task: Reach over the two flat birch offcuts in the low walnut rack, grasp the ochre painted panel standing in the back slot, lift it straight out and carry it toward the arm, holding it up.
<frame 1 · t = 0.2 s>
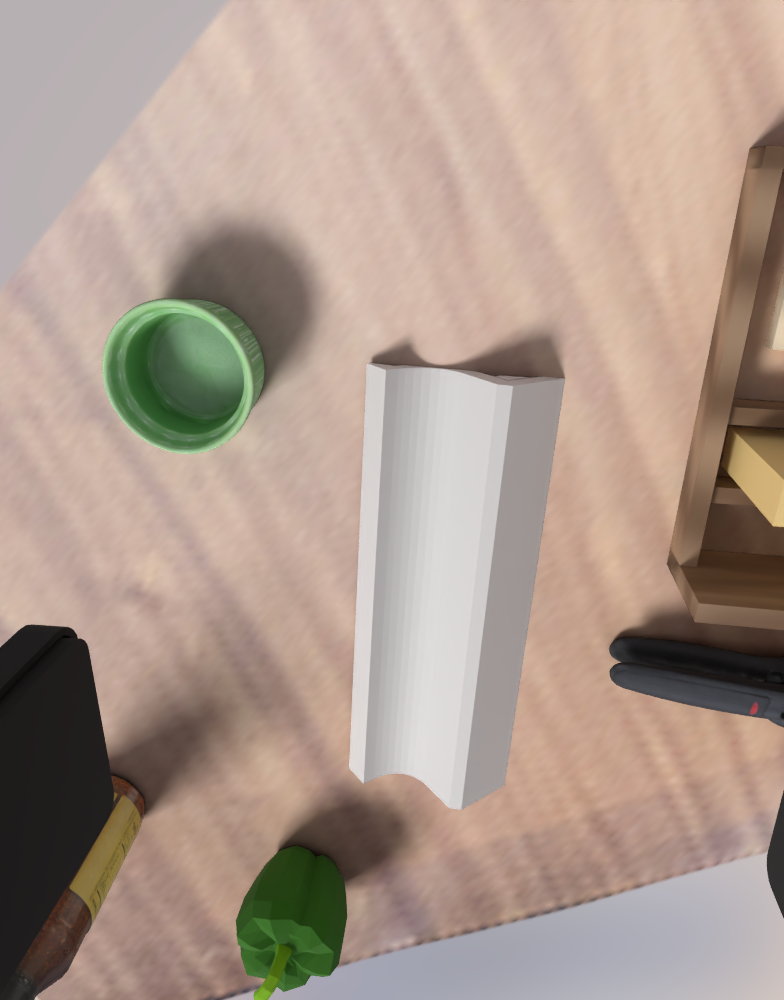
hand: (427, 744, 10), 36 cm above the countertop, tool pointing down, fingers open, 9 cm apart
can opener: (736, 660, 50), on the countertop
ramekin: (205, 363, 47), on the countertop
bell pepper: (305, 866, 62), on the countertop
crown molding: (446, 591, 51), on the countertop
sauce bottle: (116, 798, 62), on the countertop
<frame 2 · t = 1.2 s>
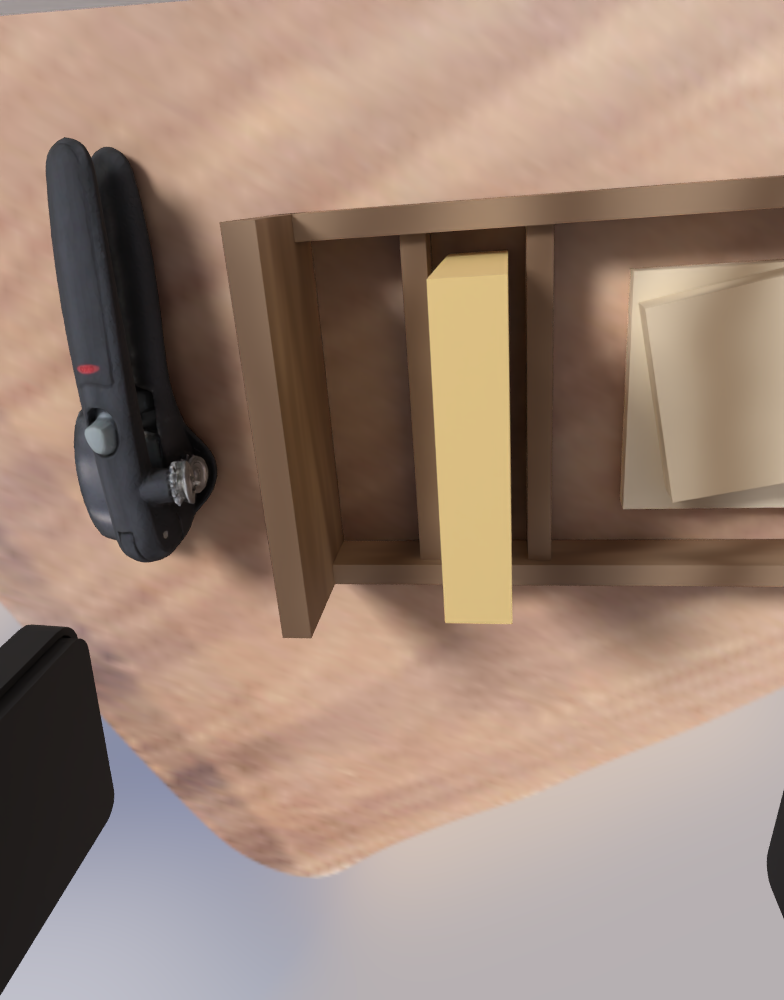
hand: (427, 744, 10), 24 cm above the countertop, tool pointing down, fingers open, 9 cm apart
offcut lower: (719, 383, 32), on the countertop, touching offcut upper
rack: (600, 392, 32), on the countertop
can opener: (148, 353, 34), on the countertop
offcut upper: (730, 383, 30), point 1 cm above the countertop, touching offcut lower
panel: (482, 395, 33), on the countertop
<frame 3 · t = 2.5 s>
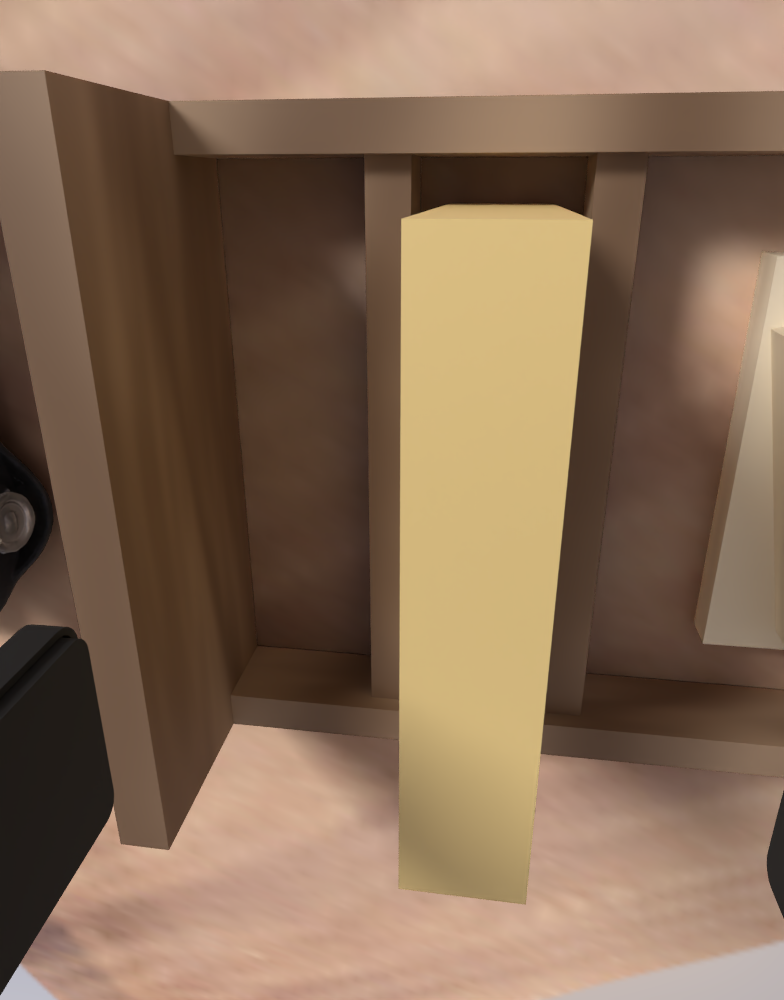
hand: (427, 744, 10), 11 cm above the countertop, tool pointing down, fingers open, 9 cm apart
rack: (683, 454, 19), on the countertop
panel: (488, 444, 20), on the countertop
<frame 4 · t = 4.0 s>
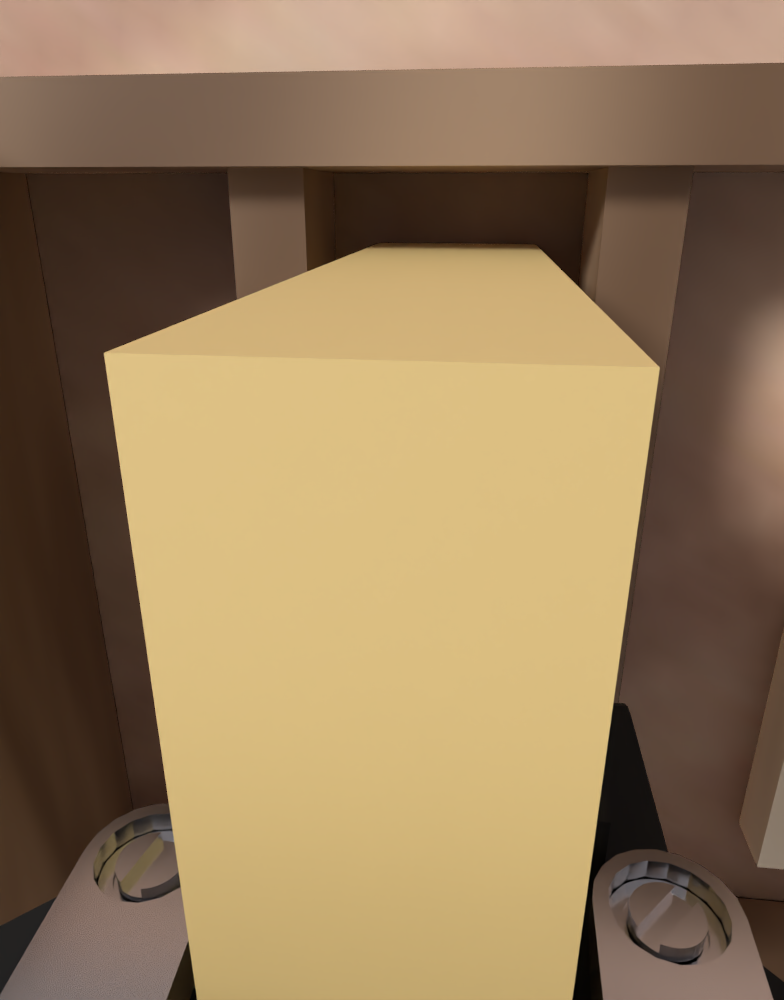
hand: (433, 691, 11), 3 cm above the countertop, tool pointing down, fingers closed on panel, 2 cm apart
rack: (727, 603, 13), on the countertop
panel: (445, 586, 14), on the countertop, touching gripper
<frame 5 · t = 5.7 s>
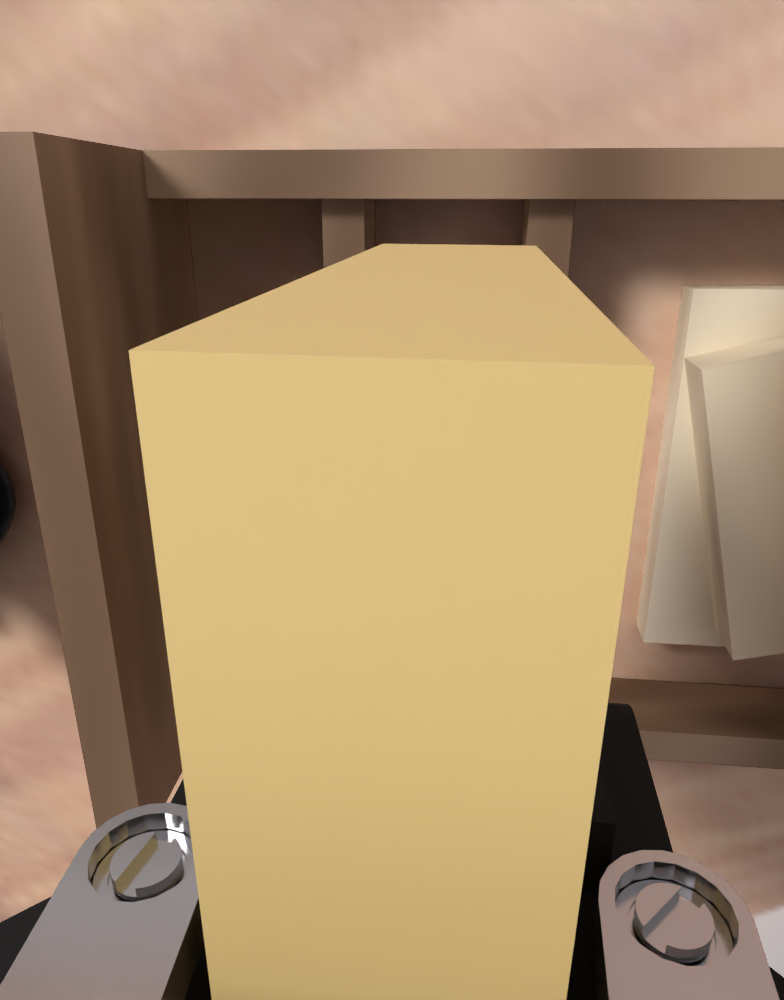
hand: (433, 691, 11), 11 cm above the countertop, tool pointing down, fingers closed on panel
rack: (618, 467, 21), on the countertop
panel: (445, 582, 14), point 8 cm above the countertop, touching gripper
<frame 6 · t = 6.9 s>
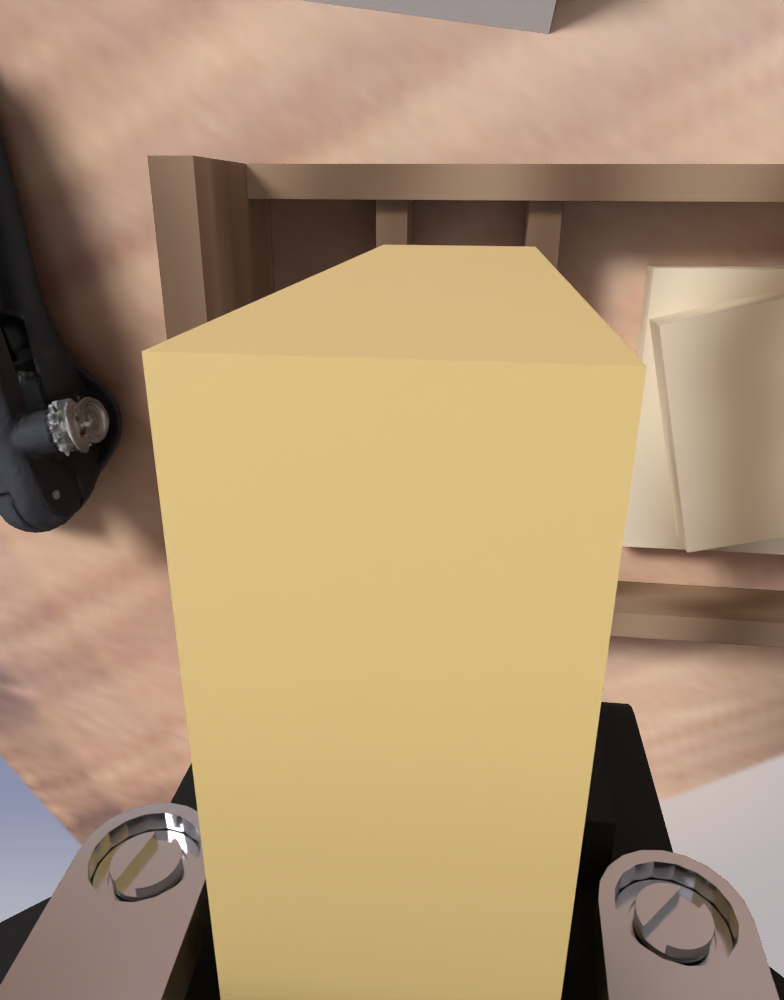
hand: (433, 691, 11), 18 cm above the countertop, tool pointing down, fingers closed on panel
offcut lower: (737, 407, 27), on the countertop, touching offcut upper
rack: (598, 408, 27), on the countertop
can opener: (24, 281, 28), on the countertop
offcut upper: (753, 414, 25), point 1 cm above the countertop, touching offcut lower
panel: (446, 580, 14), point 15 cm above the countertop, touching gripper
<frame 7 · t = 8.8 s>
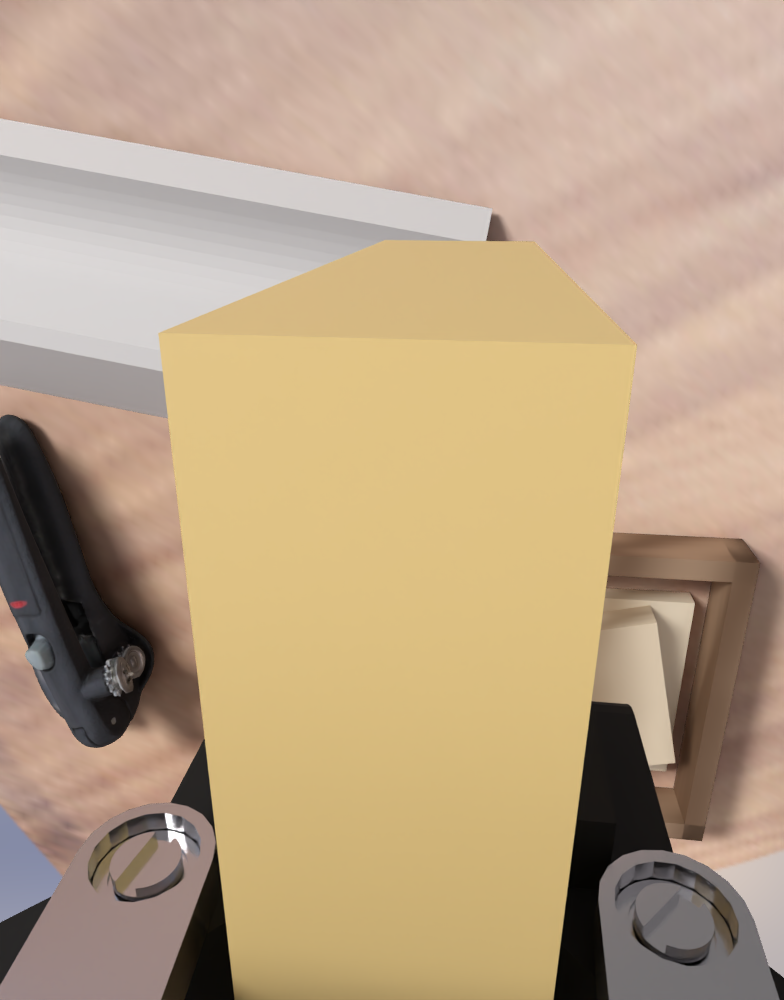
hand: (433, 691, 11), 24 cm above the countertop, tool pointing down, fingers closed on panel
offcut lower: (592, 665, 39), on the countertop, touching offcut upper
rack: (494, 667, 39), on the countertop
can opener: (77, 563, 40), on the countertop
offcut upper: (597, 683, 37), point 1 cm above the countertop, touching offcut lower
crown molding: (131, 286, 34), on the countertop
panel: (447, 571, 14), point 20 cm above the countertop, touching gripper
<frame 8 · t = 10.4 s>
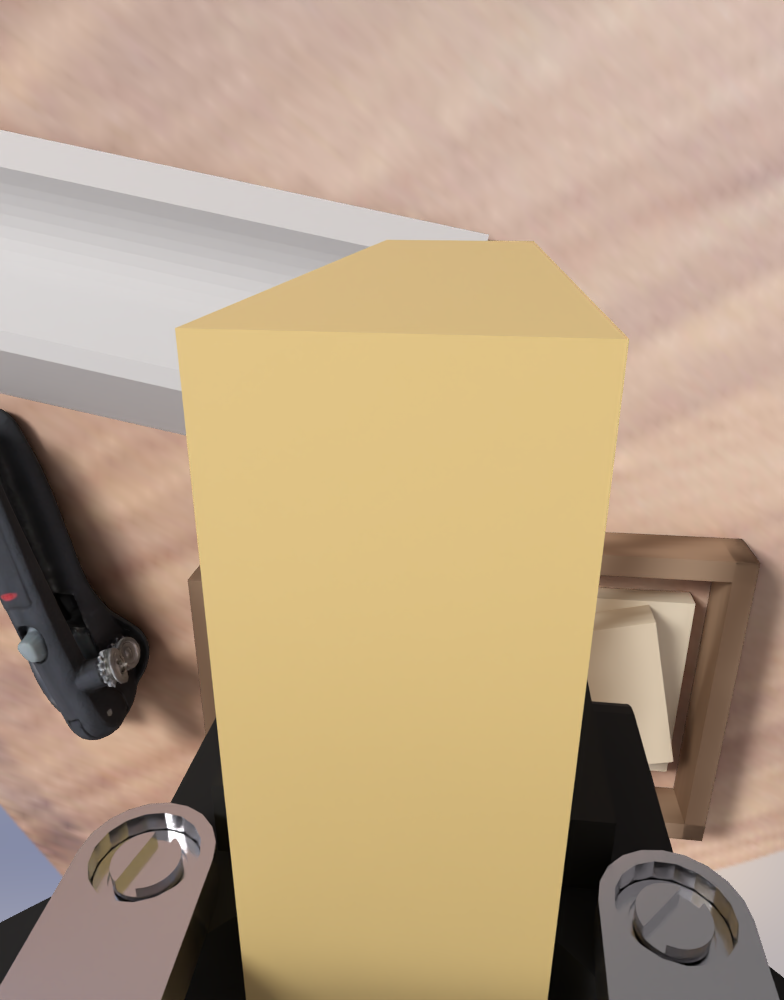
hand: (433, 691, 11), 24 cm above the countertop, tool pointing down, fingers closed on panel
offcut lower: (592, 665, 39), on the countertop, touching offcut upper
rack: (494, 667, 39), on the countertop
can opener: (69, 556, 40), on the countertop
offcut upper: (595, 682, 37), point 1 cm above the countertop, touching offcut lower
crown molding: (129, 298, 35), on the countertop
panel: (447, 566, 14), point 20 cm above the countertop, touching gripper
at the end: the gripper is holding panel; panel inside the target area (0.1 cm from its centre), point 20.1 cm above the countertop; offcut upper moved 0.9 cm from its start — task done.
